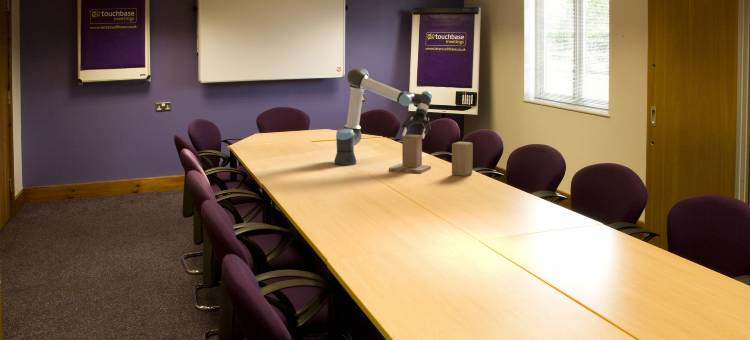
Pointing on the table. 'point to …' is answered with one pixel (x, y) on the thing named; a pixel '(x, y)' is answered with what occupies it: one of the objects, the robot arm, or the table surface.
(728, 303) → the table surface
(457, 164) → the block
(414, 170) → the marked board
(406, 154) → the wooden block
